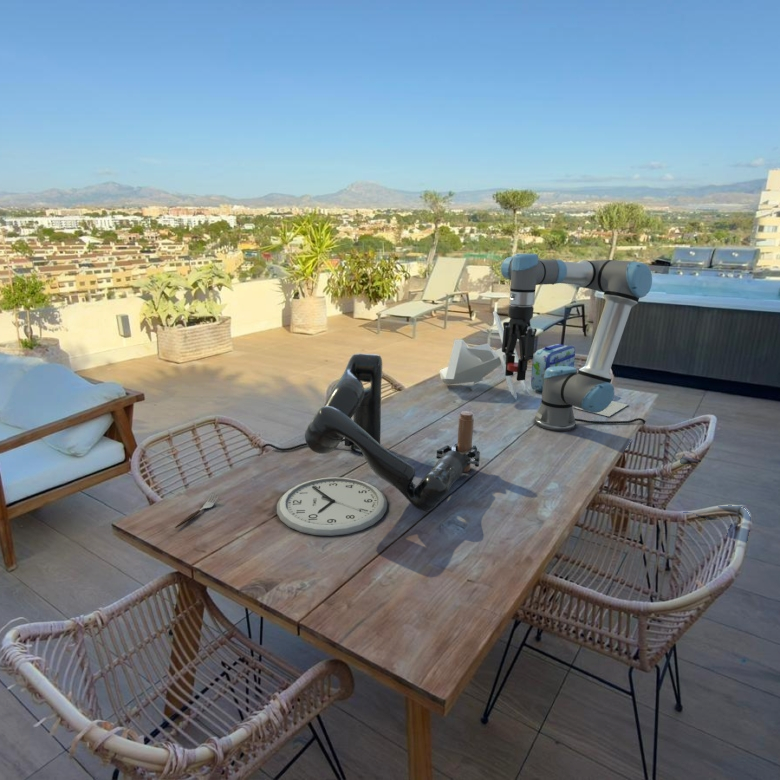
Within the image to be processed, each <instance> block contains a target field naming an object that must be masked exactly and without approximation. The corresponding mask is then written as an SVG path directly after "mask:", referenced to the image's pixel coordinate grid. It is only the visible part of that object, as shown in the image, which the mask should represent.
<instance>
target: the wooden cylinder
mask: <svg viewBox="0 0 780 780" xmlns="http://www.w3.org/2000/svg"><path fill="white" fill-rule="evenodd" d="M473 414H474V413H473V412H472V411H467V410H465V411H464V410H463V411H461V412H460V415H459V417H458V430H457V443H458V445H457V451H458V452H464V451H466V450H468V451H469V450H471V448H472V447H473V435H474V420H475V418H474V416H473ZM471 465H472V464H470V465H468V466H467V467H466V468H465V470H464V471H463V473H467V472H470V471H471Z"/></svg>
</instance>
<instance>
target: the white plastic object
mask: <svg viewBox="0 0 780 780" xmlns="http://www.w3.org/2000/svg"><path fill="white" fill-rule="evenodd" d="M492 315H493V319H494V321H495V324H496V325H495V326H496V328H497V332H498V335H499V338H500V342H501V344H502V343H503V332H504V328H503V323H502V321H501V318H500V315H499V314H498V312H497V311H496V310H495V311H492ZM514 353H515V355H514V356H515V361H514V362H517V363H518V360H519V359H520V358H519V355H518V352H517V349H516V348H515V349H514ZM500 366H502V370H503V373H504V374H505V371H506V355H505V353H504V352H502V347H500V348H498V349H496V350H495V349H493V348H492V347H491V346H490V344H489V343H488V342H487V343H483V344H479V345H473V346H469V345H468V343H466V342H465V340H464V339H463V338H460V339H458V338H454V340H453V344H452V349H451V353H450V357H449V362H448V366H446V367H444V368H442V369H440V370H439V371H438V372H439V376H440V381H442V383H443V384H444V385H445V386H449V385H458V384H467V383H468V384H469V383H473V384H477V383H480V382H482V381H484V378H485V377H486V376H487V375H489V374H490V373H492V372H494V371H495V370H496V369H497V368H499V367H500ZM504 376H505V375H504ZM505 380H506V383H507V386H508V390H509V393H510V394H511V395H512V397H513V398H514V399H515V400H517V392H516V391H517V390H516V388H515V385H514V381H513V378H512V375H511V376H505ZM519 382H520V385H521V389H522V391H523V393H524V395H525V396H526V397H528V396H531V395H530V390H529V388H528V387H529V386H528V384H527V381H526V379H525V380H521V381H519Z"/></svg>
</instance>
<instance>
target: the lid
mask: <svg viewBox="0 0 780 780" xmlns="http://www.w3.org/2000/svg"><path fill="white" fill-rule="evenodd" d="M507 370H509V371H512V372H514V373H517V371H518V363H517V362H511V363H508V367H507Z"/></svg>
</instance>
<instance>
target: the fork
mask: <svg viewBox="0 0 780 780" xmlns="http://www.w3.org/2000/svg"><path fill="white" fill-rule="evenodd" d="M219 496H220V494H218V493H213V492H212V493H211V494H210V497H208V500H207V501H206V502H205V503H204V504H203V505H202V507H201V508H200V509H198V510H196V511H194V512H193V513H191V514H189V515H188V516H187V517H185V518H184V519H183V520H182V521H181V522H179V523H178V524H177V525H175V527H174V528H175V529H177V528H179V527H180V526H182V525H184V524H185V523H187V522H189V521H190V520H192V519H194V517H196V516H197V515H198V514H199V513H201V511H203V510H204V509H210V508H212V507H213V506H214V505H215V504H216V502H217V500H218V498H219Z"/></svg>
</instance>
